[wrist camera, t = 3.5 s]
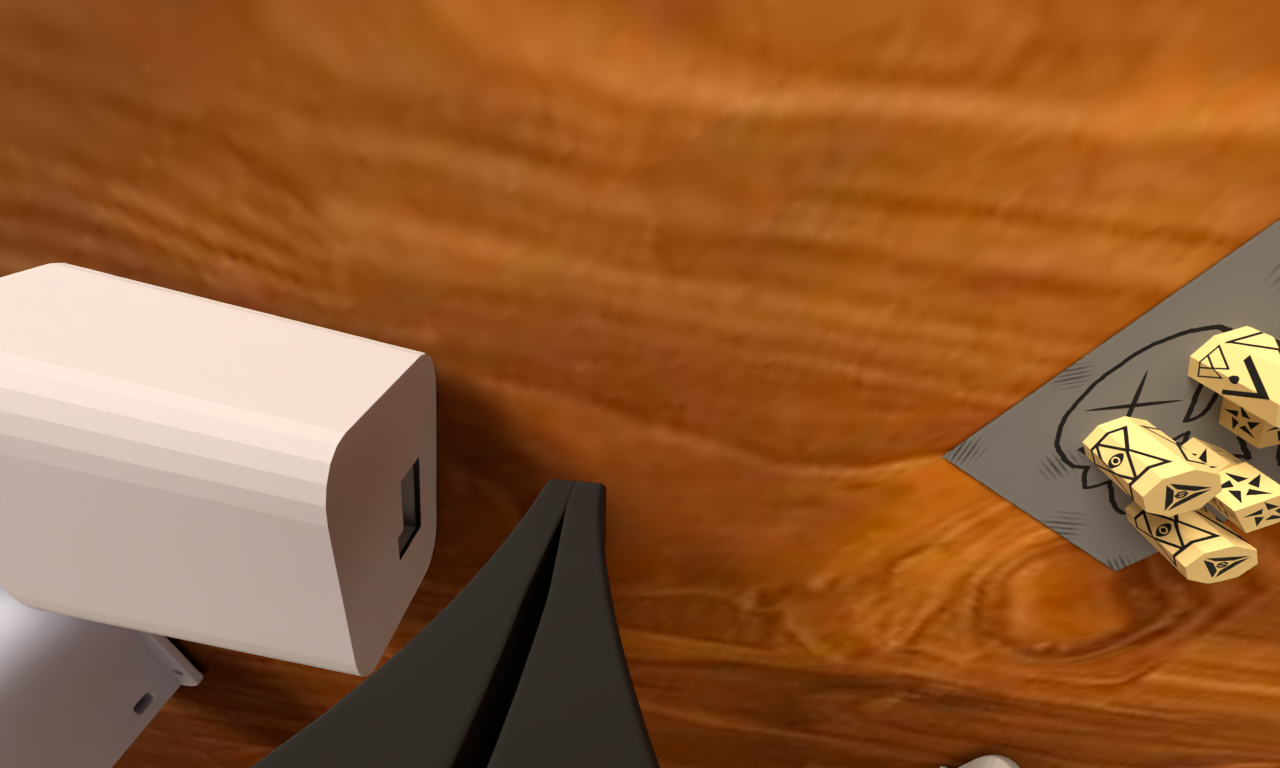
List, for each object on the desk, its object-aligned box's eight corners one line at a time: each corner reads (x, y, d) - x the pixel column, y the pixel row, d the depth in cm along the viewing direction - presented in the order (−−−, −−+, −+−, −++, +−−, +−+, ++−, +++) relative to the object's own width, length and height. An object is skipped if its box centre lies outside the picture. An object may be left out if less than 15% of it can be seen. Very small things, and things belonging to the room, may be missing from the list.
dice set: (1142, 531, 14) (1203, 590, 12) (1031, 451, 12) (1082, 506, 11) (1367, 420, 11) (1483, 477, 10) (1256, 308, 10) (1366, 351, 8)
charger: (-180, 184, 11) (438, 339, 12) (11, 457, 16) (438, 553, 17) (-653, 239, 7) (319, 464, 8) (-207, 579, 12) (363, 695, 13)
